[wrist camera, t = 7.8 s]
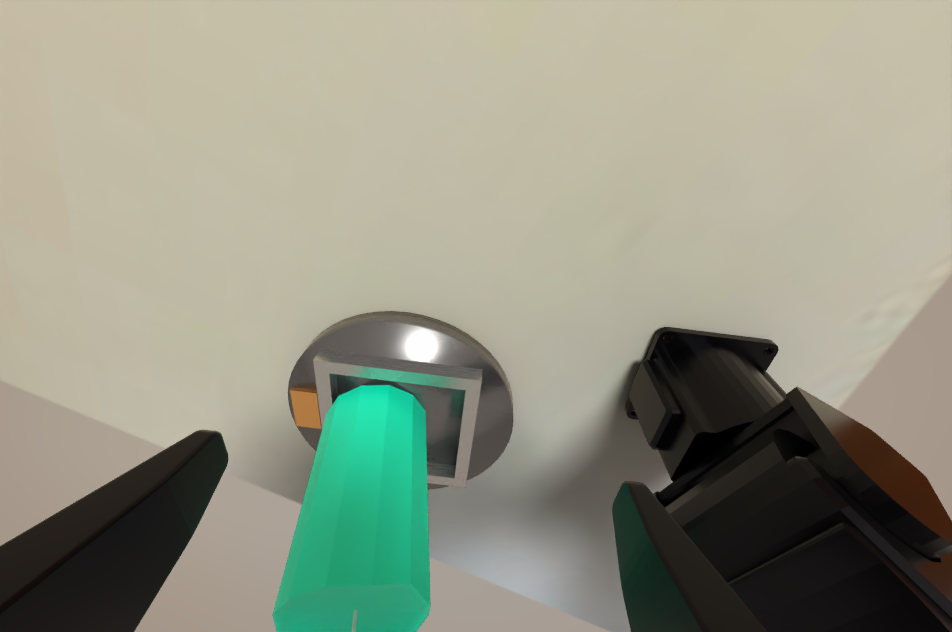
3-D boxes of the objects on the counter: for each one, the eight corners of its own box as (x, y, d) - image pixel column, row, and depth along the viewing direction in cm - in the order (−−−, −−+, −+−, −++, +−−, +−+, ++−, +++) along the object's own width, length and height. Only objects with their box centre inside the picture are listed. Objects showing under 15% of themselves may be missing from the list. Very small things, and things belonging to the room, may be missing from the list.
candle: (379, 466, 26) (356, 715, 16) (304, 423, 23) (217, 692, 13) (446, 419, 25) (467, 660, 15) (374, 366, 22) (337, 621, 12)
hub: (530, 327, 22) (533, 350, 20) (496, 485, 29) (496, 513, 27) (282, 296, 22) (261, 316, 20) (309, 462, 29) (295, 489, 27)
